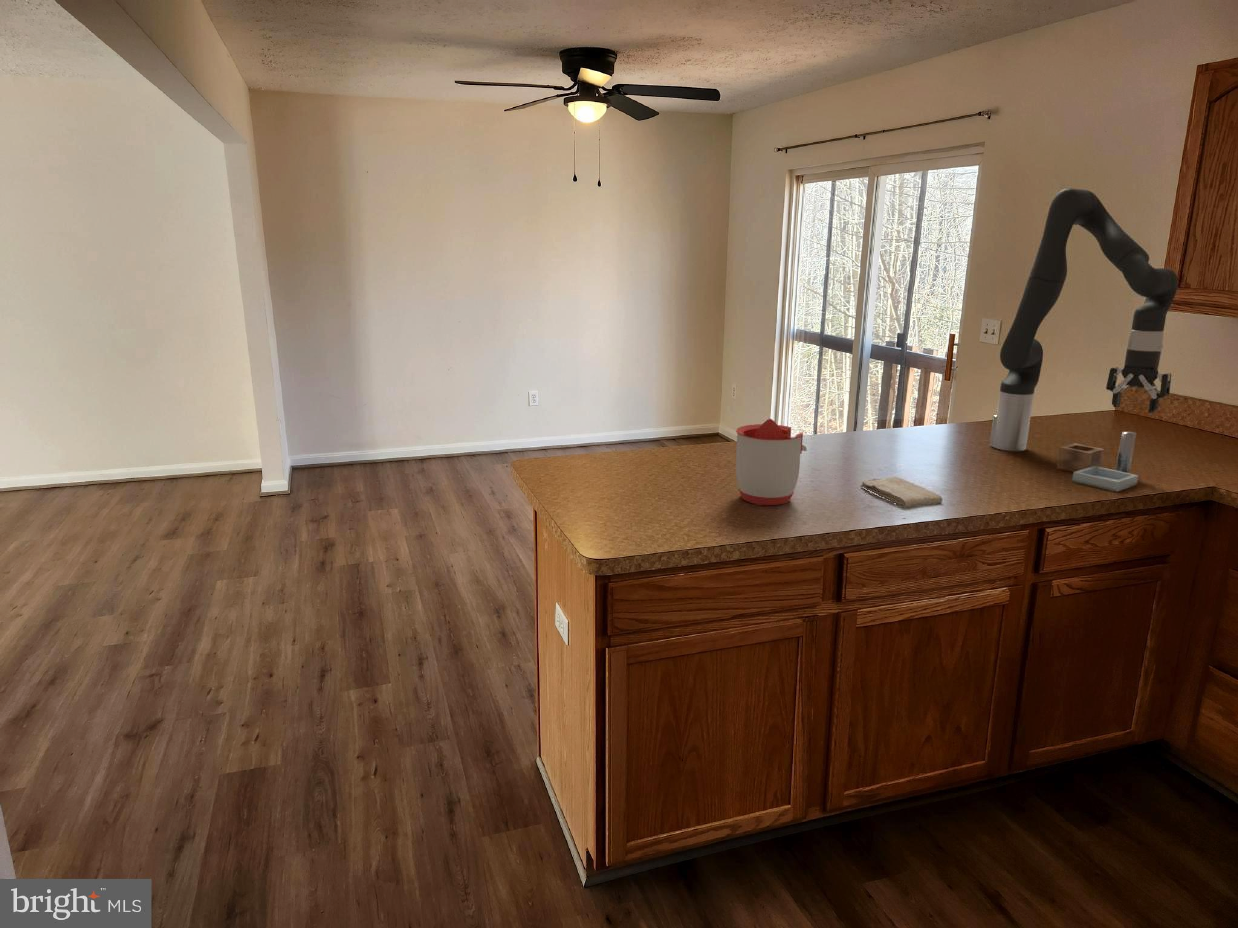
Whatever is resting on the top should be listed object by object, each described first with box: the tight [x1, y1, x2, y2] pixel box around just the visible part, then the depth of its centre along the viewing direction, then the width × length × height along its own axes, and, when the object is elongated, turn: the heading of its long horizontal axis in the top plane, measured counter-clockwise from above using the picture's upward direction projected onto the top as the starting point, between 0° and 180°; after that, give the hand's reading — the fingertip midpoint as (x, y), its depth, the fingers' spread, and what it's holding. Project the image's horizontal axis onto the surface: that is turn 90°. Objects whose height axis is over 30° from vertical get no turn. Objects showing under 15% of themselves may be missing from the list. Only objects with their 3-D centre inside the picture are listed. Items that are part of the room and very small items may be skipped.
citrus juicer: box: [735, 418, 807, 506], centre depth 194 cm, size 16×17×20 cm
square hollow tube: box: [1056, 443, 1105, 473], centre depth 223 cm, size 8×8×6 cm
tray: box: [1071, 466, 1139, 493], centre depth 211 cm, size 11×11×2 cm
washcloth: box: [860, 476, 943, 508], centre depth 200 cm, size 12×18×3 cm, turn 21°
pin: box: [1114, 430, 1137, 473], centre depth 216 cm, size 3×3×12 cm
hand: (1133, 409), depth 213 cm, fingers open, 8 cm apart
